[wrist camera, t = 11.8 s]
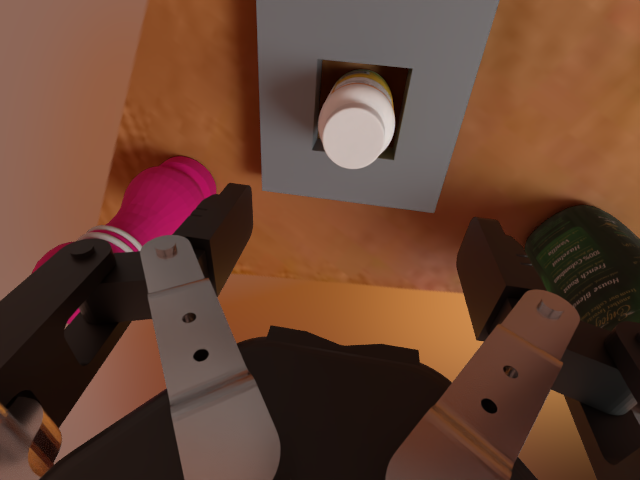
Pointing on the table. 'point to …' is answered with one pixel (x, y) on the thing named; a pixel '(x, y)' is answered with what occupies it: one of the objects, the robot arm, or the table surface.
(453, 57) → the socket block
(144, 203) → the pepper mill
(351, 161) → the supplement bottle
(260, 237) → the table surface
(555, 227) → the coffee jar
